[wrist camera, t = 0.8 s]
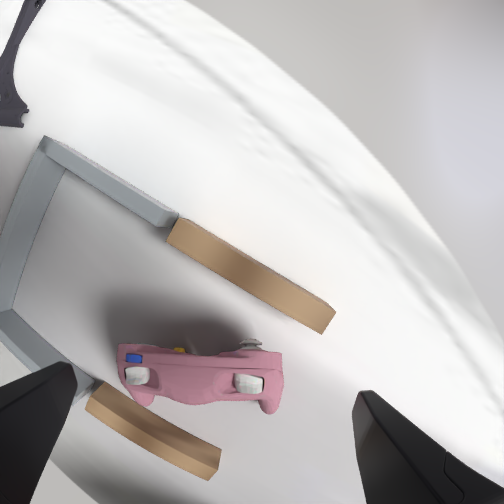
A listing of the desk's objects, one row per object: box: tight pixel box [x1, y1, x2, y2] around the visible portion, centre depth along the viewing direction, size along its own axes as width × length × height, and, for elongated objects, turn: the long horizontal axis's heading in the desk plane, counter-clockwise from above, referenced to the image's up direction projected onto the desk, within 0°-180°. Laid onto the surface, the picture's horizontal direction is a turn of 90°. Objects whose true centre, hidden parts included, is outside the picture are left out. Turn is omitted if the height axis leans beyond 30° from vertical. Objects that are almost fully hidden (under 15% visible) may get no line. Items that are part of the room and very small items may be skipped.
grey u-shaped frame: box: [0, 135, 179, 406], centre depth 18 cm, size 10×15×3 cm
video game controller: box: [116, 339, 284, 414], centre depth 17 cm, size 10×5×7 cm, turn 90°
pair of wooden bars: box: [85, 218, 336, 481], centre depth 18 cm, size 10×15×2 cm, turn 149°
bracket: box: [0, 0, 46, 128], centre depth 18 cm, size 14×15×3 cm
